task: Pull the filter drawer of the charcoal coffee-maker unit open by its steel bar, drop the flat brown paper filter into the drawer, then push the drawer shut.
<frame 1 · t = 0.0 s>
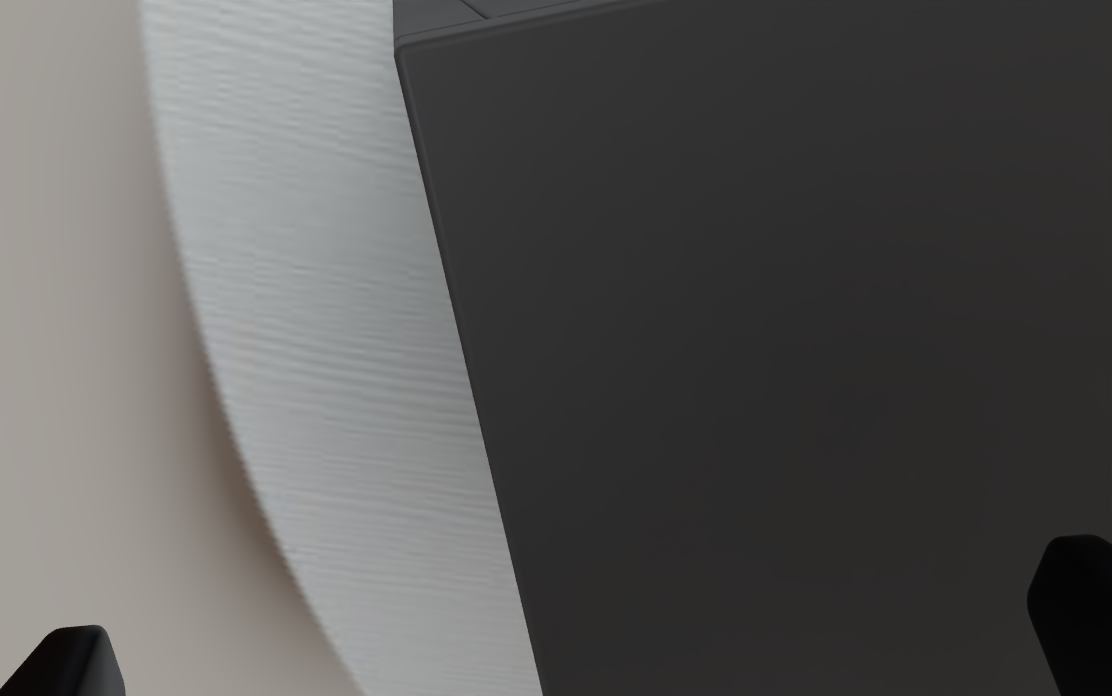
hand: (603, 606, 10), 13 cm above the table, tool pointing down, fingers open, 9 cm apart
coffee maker: (708, 213, 22), on the table
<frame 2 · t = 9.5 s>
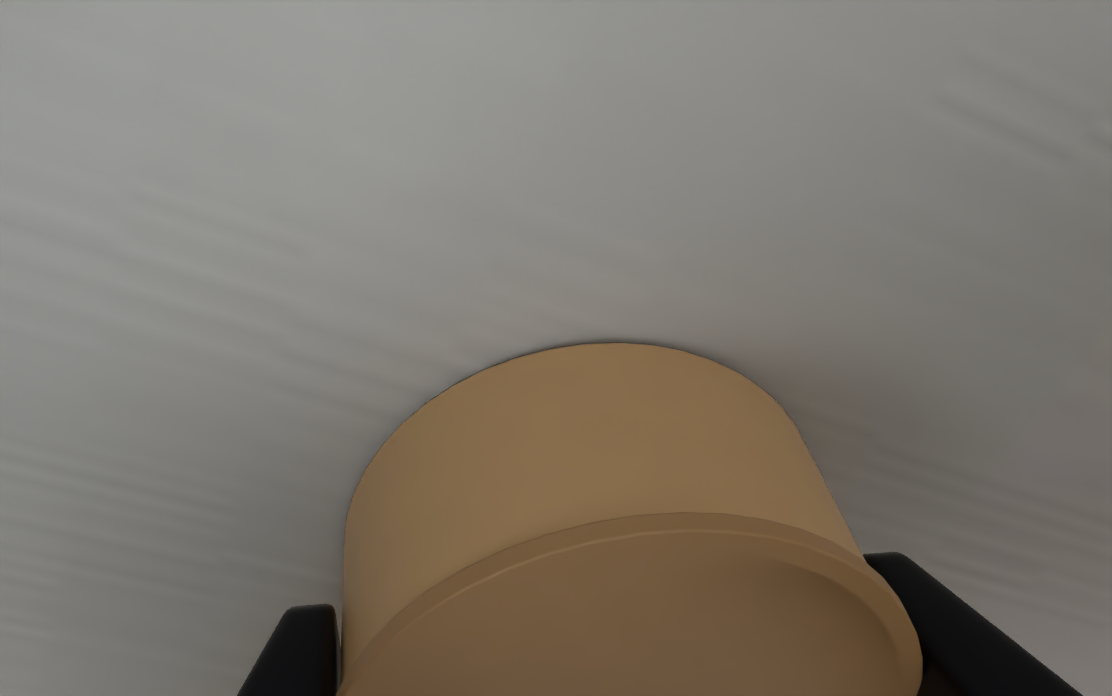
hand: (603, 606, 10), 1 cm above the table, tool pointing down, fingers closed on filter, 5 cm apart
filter: (583, 530, 11), on the table, touching gripper
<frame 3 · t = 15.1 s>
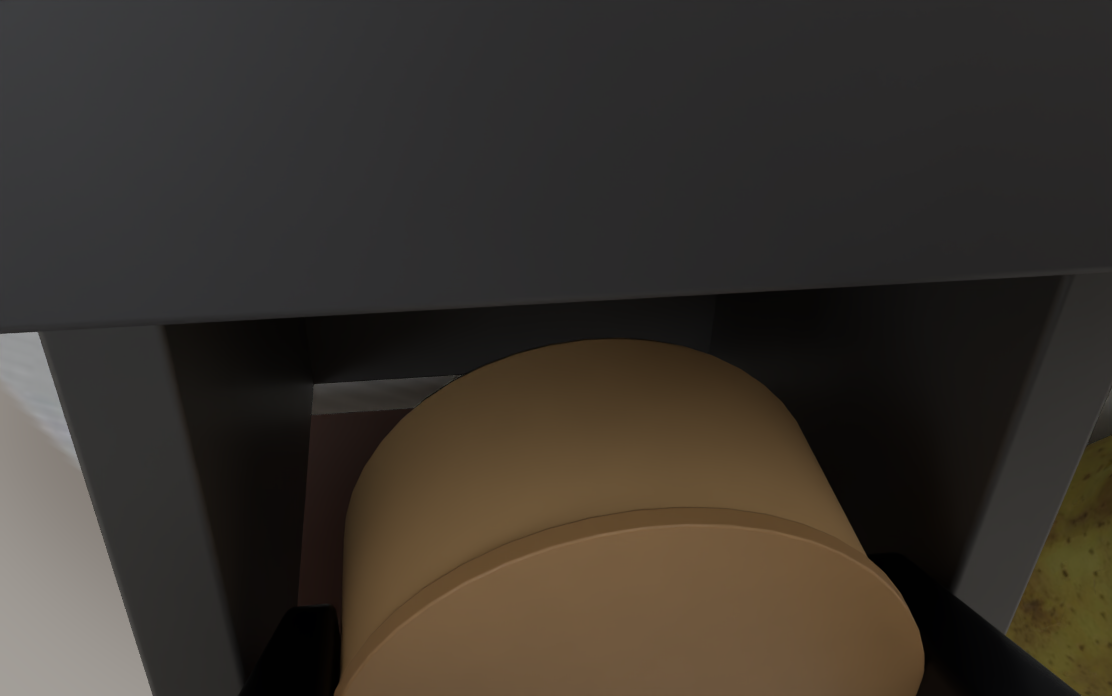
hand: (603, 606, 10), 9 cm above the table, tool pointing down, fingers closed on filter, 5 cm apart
drawer: (542, 516, 14), point 6 cm above the table, slide at 8.5 cm
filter: (583, 527, 11), point 8 cm above the table, touching gripper
potato: (1108, 469, 24), on the table
when the fingers open (12 cm above the table, at t = 31.5 s): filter drops 9 cm, resting on drawer.
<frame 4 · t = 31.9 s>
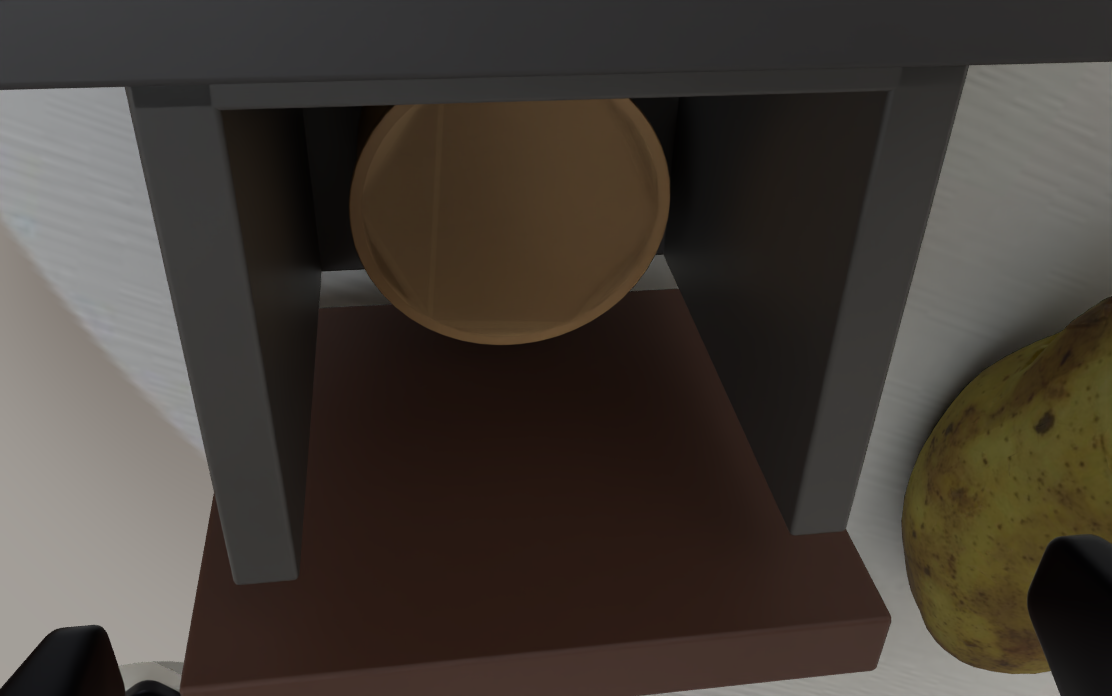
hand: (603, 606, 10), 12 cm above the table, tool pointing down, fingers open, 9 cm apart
drawer: (515, 367, 17), point 6 cm above the table, slide at 8.4 cm, touching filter
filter: (497, 146, 18), point 2 cm above the table, touching drawer
potato: (1035, 382, 27), on the table
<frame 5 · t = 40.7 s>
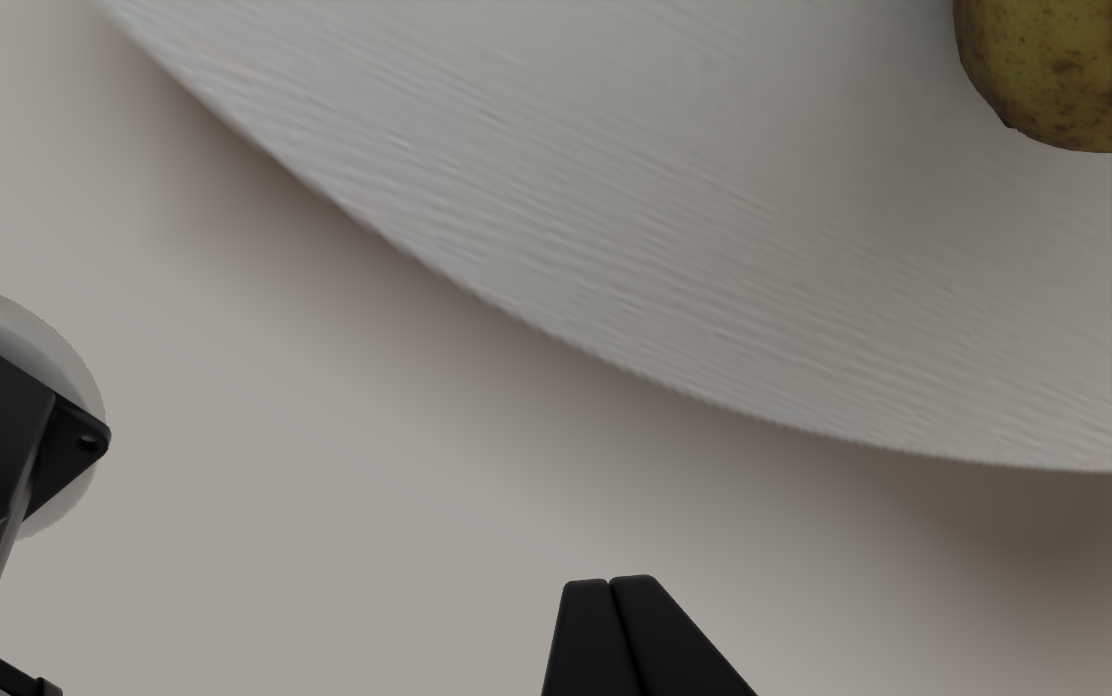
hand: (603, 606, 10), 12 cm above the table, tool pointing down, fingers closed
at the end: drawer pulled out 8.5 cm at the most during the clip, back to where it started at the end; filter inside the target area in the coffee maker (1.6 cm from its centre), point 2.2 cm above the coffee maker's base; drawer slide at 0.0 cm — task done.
